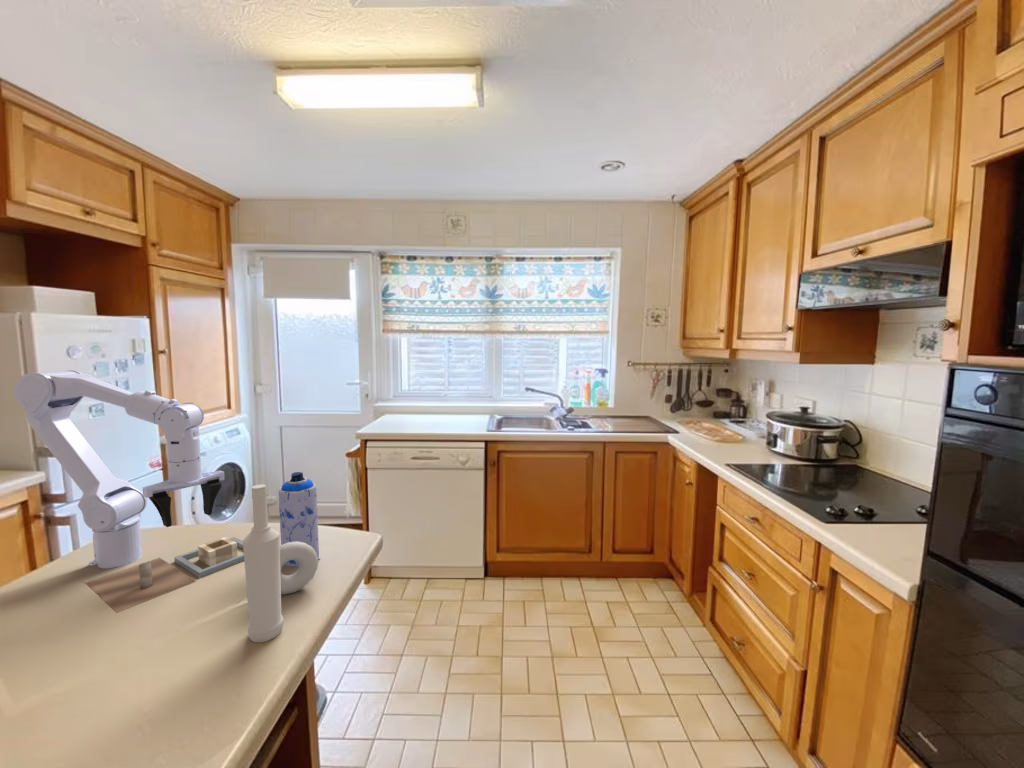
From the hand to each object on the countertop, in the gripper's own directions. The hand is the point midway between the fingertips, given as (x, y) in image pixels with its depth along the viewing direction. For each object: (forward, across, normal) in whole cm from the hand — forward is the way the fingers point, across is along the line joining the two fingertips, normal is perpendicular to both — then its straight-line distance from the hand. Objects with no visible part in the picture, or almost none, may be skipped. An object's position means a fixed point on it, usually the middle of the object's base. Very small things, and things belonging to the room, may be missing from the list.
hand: (188, 519), depth 95 cm
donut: (+10, +5, -31) cm, 33 cm away
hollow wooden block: (+9, +3, -6) cm, 11 cm away
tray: (+9, +3, -6) cm, 12 cm away
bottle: (+10, -4, -39) cm, 40 cm away
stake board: (+9, -10, -4) cm, 14 cm away
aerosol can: (+10, +13, -21) cm, 26 cm away
